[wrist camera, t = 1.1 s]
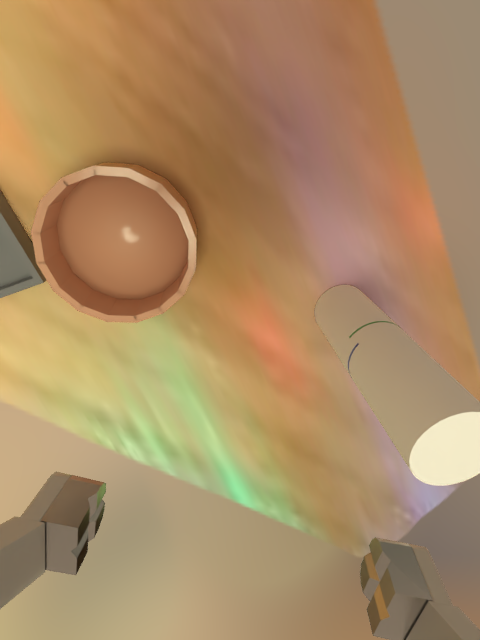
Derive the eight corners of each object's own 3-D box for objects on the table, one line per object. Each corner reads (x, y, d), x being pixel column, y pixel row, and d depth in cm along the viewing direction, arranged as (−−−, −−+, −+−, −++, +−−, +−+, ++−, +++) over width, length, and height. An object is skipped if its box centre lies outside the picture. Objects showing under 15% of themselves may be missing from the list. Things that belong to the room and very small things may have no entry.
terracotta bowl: (23, 193, 40) (-2, 201, 35) (163, 141, 39) (158, 141, 34) (96, 319, 47) (83, 340, 42) (216, 277, 46) (217, 294, 41)
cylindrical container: (305, 324, 50) (390, 474, 27) (330, 277, 47) (447, 400, 25) (350, 339, 52) (465, 493, 29) (376, 295, 49) (525, 425, 26)
